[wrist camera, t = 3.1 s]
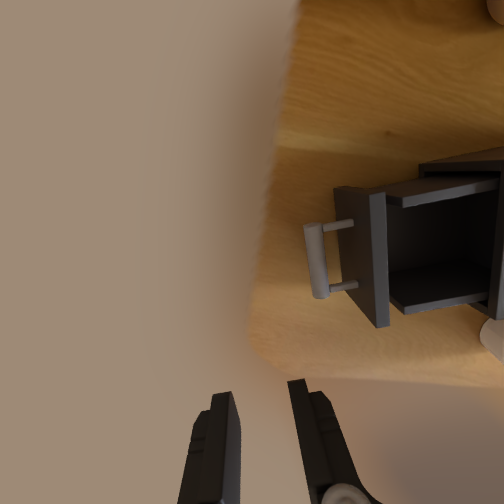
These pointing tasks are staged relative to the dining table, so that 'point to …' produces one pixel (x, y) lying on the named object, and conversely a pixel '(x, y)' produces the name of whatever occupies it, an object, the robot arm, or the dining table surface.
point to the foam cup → (493, 337)
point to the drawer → (410, 243)
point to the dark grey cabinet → (497, 159)
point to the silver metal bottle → (496, 10)
